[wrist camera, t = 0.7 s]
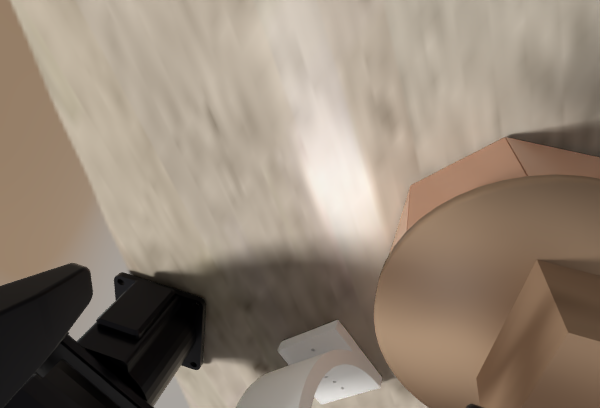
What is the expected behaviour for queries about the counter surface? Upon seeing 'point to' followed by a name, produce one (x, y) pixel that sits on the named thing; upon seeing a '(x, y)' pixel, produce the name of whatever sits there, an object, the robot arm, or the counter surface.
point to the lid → (498, 297)
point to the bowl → (491, 174)
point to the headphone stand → (314, 371)
